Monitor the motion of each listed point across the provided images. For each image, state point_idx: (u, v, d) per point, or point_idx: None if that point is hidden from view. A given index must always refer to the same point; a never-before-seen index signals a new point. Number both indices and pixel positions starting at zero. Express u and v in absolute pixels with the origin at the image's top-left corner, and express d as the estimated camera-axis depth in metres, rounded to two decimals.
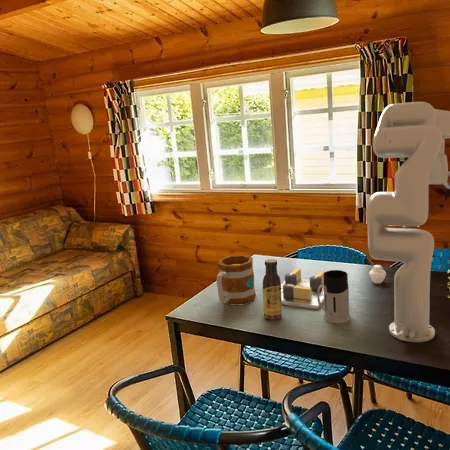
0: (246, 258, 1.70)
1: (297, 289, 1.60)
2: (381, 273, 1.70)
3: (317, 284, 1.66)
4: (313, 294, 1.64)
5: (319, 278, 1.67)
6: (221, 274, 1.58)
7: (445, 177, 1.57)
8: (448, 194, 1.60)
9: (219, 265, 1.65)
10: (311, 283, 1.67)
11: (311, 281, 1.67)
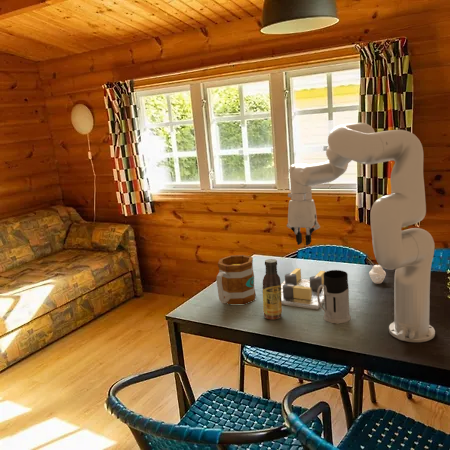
0: (246, 258, 1.70)
1: (297, 289, 1.60)
2: (381, 273, 1.70)
3: (317, 284, 1.66)
4: (313, 294, 1.64)
5: (319, 278, 1.67)
6: (221, 274, 1.58)
7: (311, 221, 1.66)
8: (308, 240, 1.70)
9: (219, 265, 1.65)
10: (311, 283, 1.67)
11: (311, 281, 1.67)
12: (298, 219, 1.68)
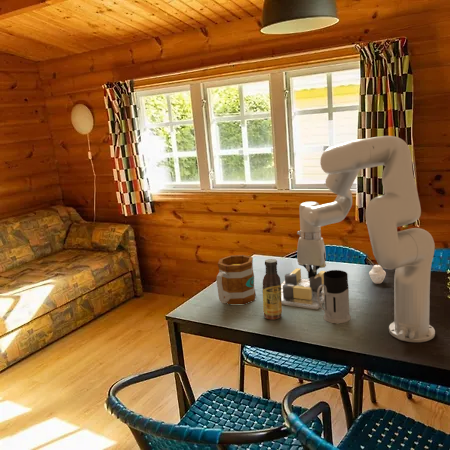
0: (246, 258, 1.70)
1: (297, 289, 1.60)
2: (381, 273, 1.70)
3: (317, 284, 1.66)
4: (313, 294, 1.64)
5: (319, 278, 1.67)
6: (221, 274, 1.58)
7: (321, 260, 1.68)
8: None
9: (219, 265, 1.65)
10: (311, 283, 1.67)
11: (311, 281, 1.67)
12: (307, 257, 1.70)
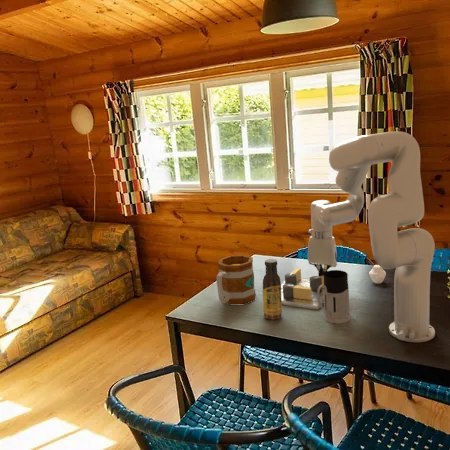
0: (246, 258, 1.70)
1: (297, 289, 1.60)
2: (381, 273, 1.70)
3: (313, 284, 1.67)
4: (313, 294, 1.64)
5: (317, 279, 1.67)
6: (221, 274, 1.58)
7: (332, 259, 1.66)
8: None
9: (219, 265, 1.65)
10: None
11: None
12: (318, 256, 1.68)
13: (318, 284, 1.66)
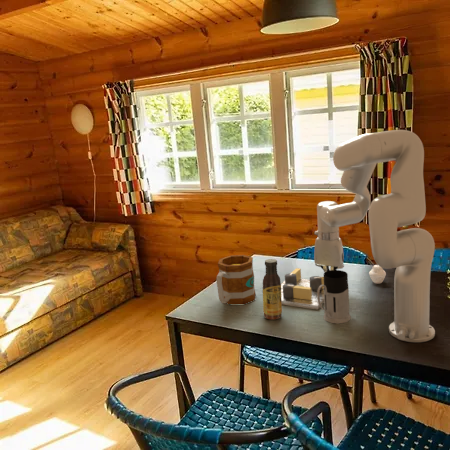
0: (246, 258, 1.70)
1: (297, 289, 1.60)
2: (381, 273, 1.70)
3: (311, 283, 1.67)
4: (313, 294, 1.64)
5: (316, 279, 1.67)
6: (221, 274, 1.58)
7: (339, 260, 1.64)
8: None
9: (219, 265, 1.65)
10: None
11: None
12: (325, 258, 1.66)
13: (316, 284, 1.66)
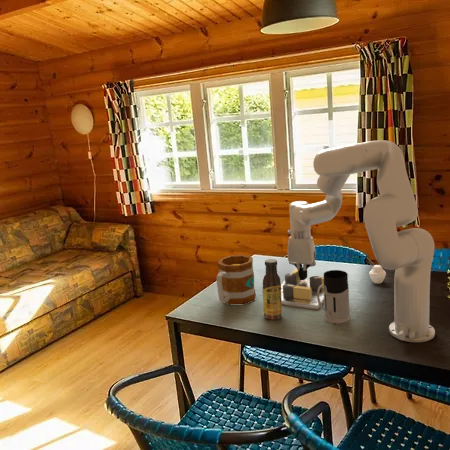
0: (246, 258, 1.70)
1: (297, 289, 1.60)
2: (381, 273, 1.70)
3: (311, 283, 1.67)
4: (313, 294, 1.64)
5: (316, 279, 1.67)
6: (221, 274, 1.58)
7: (310, 258, 1.70)
8: (304, 275, 1.75)
9: (219, 265, 1.65)
10: None
11: None
12: (297, 256, 1.72)
13: (316, 284, 1.66)
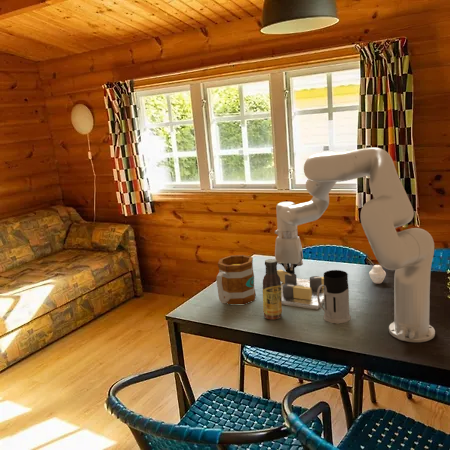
0: (246, 258, 1.70)
1: (297, 289, 1.60)
2: (381, 273, 1.70)
3: (311, 283, 1.67)
4: (313, 294, 1.64)
5: (316, 279, 1.67)
6: (221, 274, 1.58)
7: (297, 258, 1.72)
8: None
9: (219, 265, 1.65)
10: None
11: None
12: (285, 255, 1.75)
13: (316, 284, 1.66)
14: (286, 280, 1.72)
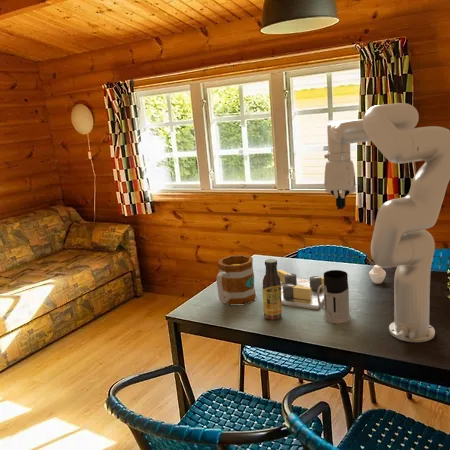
0: (246, 258, 1.70)
1: (297, 289, 1.60)
2: (381, 273, 1.70)
3: (311, 283, 1.67)
4: (313, 294, 1.64)
5: (316, 279, 1.67)
6: (221, 274, 1.58)
7: (351, 183, 1.56)
8: (343, 203, 1.61)
9: (219, 265, 1.65)
10: None
11: None
12: (336, 181, 1.58)
13: (316, 284, 1.66)
14: (286, 280, 1.72)
